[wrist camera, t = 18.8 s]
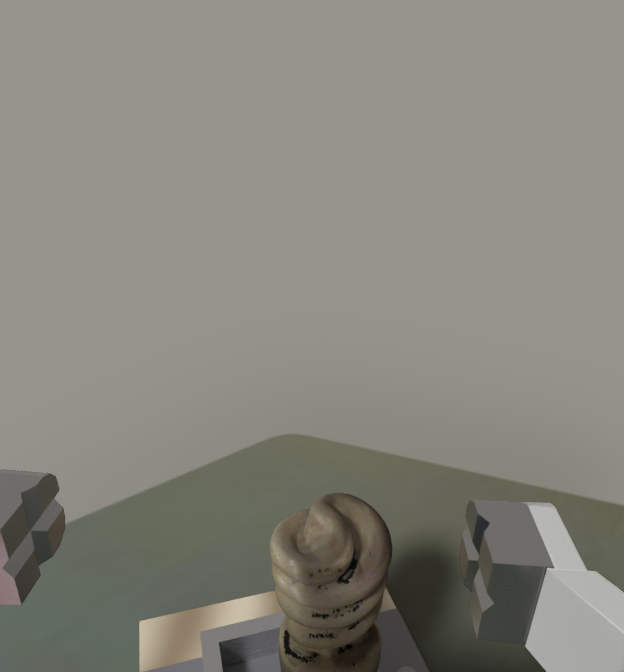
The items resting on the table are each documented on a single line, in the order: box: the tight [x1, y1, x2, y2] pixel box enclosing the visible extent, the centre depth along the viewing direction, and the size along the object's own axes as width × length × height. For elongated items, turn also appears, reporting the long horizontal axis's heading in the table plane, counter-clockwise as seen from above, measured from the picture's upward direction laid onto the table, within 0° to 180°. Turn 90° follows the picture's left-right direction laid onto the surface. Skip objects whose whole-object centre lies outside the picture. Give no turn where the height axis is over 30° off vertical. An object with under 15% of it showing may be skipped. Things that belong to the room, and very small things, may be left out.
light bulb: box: [270, 493, 392, 672], centre depth 27 cm, size 6×6×15 cm
